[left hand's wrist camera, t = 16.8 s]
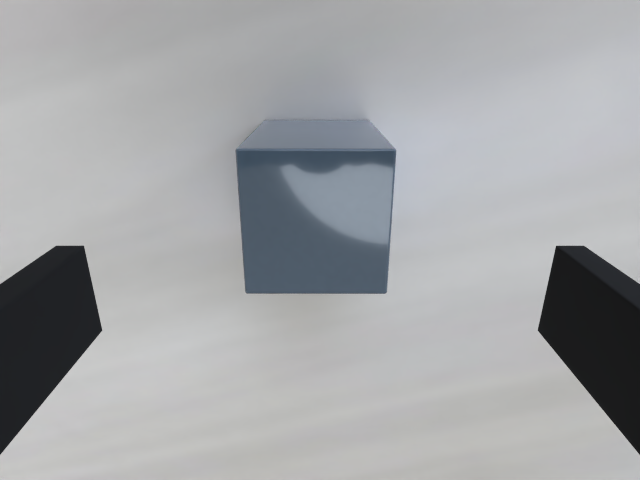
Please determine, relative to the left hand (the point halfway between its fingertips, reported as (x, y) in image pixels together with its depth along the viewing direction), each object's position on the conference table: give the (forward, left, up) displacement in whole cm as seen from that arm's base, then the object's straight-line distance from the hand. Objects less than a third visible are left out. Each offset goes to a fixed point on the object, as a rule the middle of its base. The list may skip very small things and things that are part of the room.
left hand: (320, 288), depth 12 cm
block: (0, 0, -16) cm, 16 cm away
